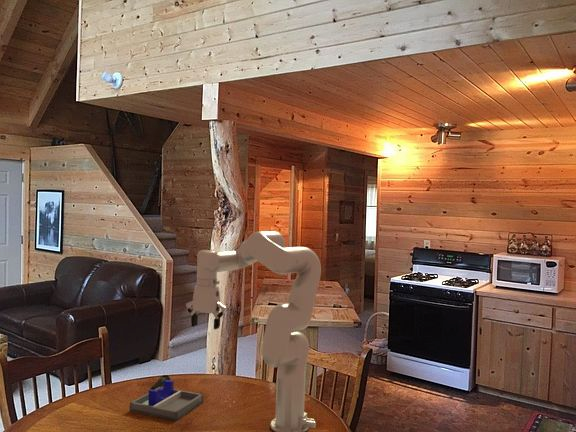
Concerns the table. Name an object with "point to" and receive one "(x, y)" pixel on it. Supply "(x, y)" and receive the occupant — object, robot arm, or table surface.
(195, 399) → the organiser tray
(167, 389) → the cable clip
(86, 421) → the table surface
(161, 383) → the electric trimmer
